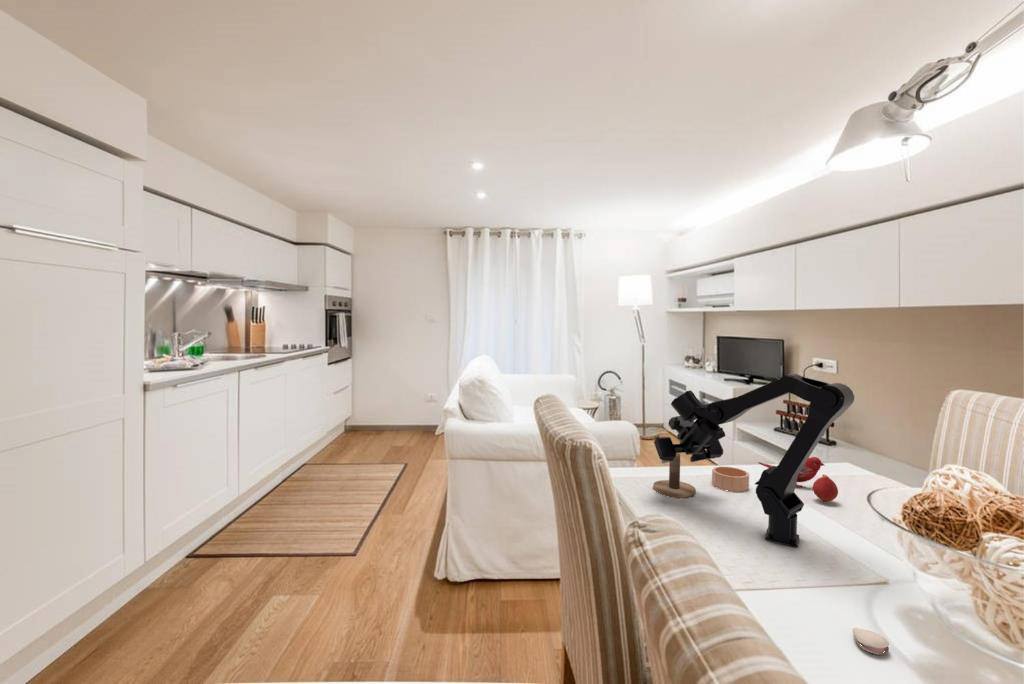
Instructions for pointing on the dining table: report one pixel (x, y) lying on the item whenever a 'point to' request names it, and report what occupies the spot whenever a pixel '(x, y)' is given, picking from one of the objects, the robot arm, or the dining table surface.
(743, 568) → the dining table surface
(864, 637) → the beige oval flat piece
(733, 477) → the bowl
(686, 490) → the lid
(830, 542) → the dining table surface
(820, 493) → the onion
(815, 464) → the decorative bird figurine
